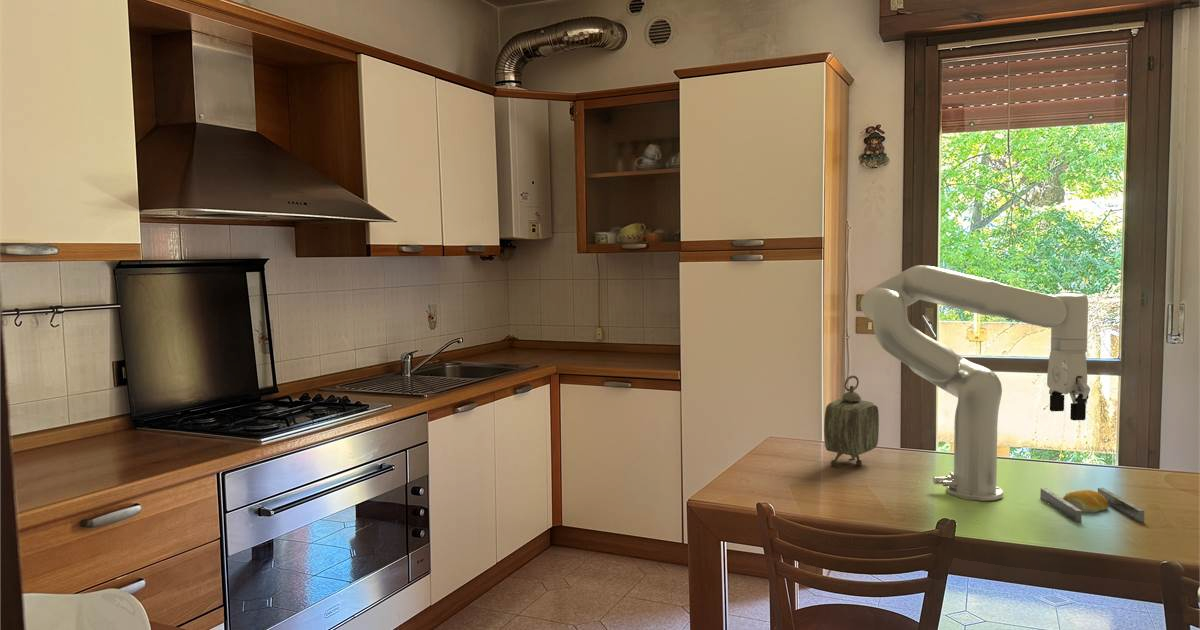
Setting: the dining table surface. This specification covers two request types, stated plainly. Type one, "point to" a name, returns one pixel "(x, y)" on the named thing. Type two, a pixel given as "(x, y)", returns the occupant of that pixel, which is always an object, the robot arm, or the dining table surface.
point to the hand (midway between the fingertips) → (1067, 415)
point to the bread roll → (1087, 500)
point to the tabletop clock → (851, 425)
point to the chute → (1077, 513)
